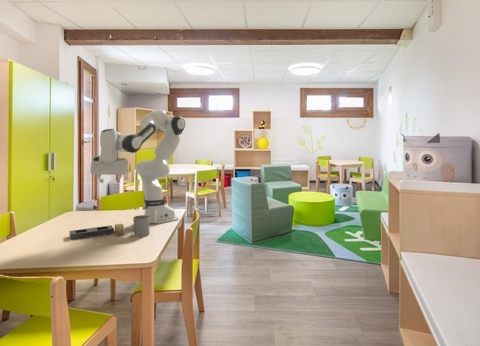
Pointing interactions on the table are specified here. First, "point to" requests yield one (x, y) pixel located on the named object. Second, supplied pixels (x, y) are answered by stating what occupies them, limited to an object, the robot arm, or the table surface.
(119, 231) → the block
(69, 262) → the table surface
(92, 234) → the rail
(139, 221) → the cup
